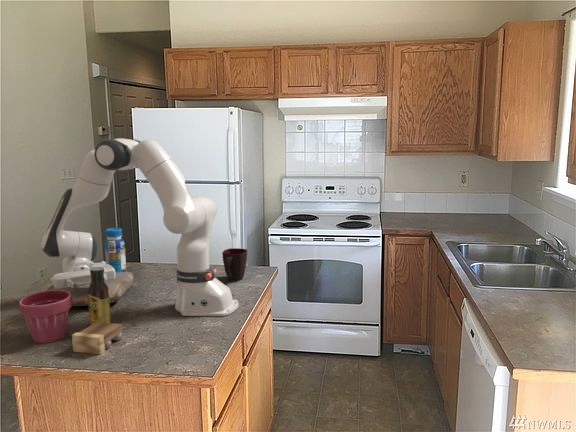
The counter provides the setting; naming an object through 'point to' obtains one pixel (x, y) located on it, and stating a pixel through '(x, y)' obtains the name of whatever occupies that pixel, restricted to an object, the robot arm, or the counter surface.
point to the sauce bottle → (98, 297)
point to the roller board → (96, 337)
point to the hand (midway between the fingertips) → (89, 282)
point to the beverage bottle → (115, 249)
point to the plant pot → (46, 314)
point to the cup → (235, 263)
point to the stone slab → (114, 286)
